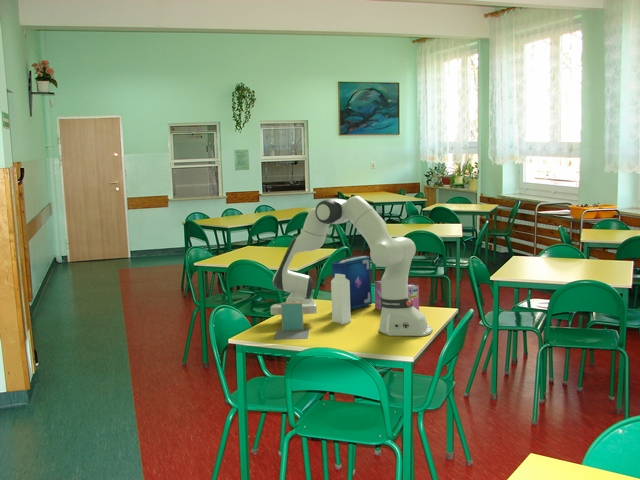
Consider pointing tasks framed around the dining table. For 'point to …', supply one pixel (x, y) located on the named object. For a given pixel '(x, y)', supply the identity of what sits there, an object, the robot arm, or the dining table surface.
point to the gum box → (412, 293)
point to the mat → (291, 334)
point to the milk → (340, 299)
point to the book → (356, 279)
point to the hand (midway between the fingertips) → (292, 312)
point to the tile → (292, 316)
